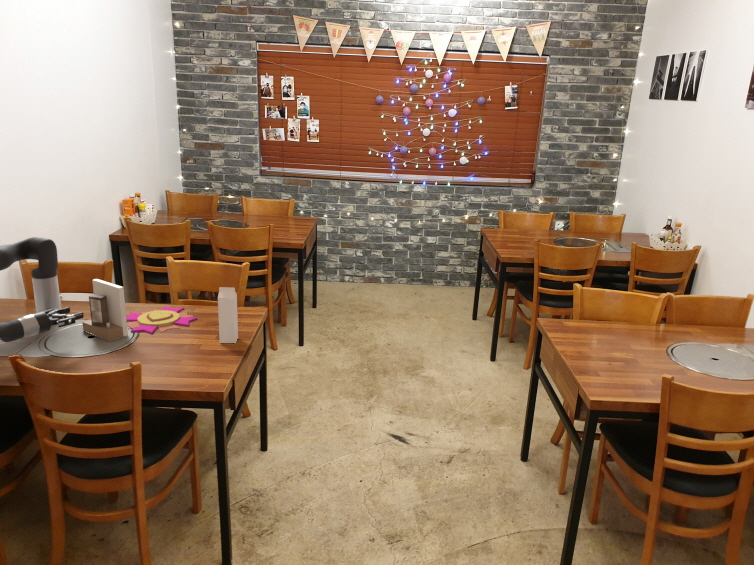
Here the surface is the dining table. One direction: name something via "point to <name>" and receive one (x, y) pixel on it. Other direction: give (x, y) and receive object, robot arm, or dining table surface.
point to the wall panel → (110, 312)
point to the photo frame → (99, 310)
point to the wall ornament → (159, 320)
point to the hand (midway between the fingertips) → (76, 312)
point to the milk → (227, 315)
